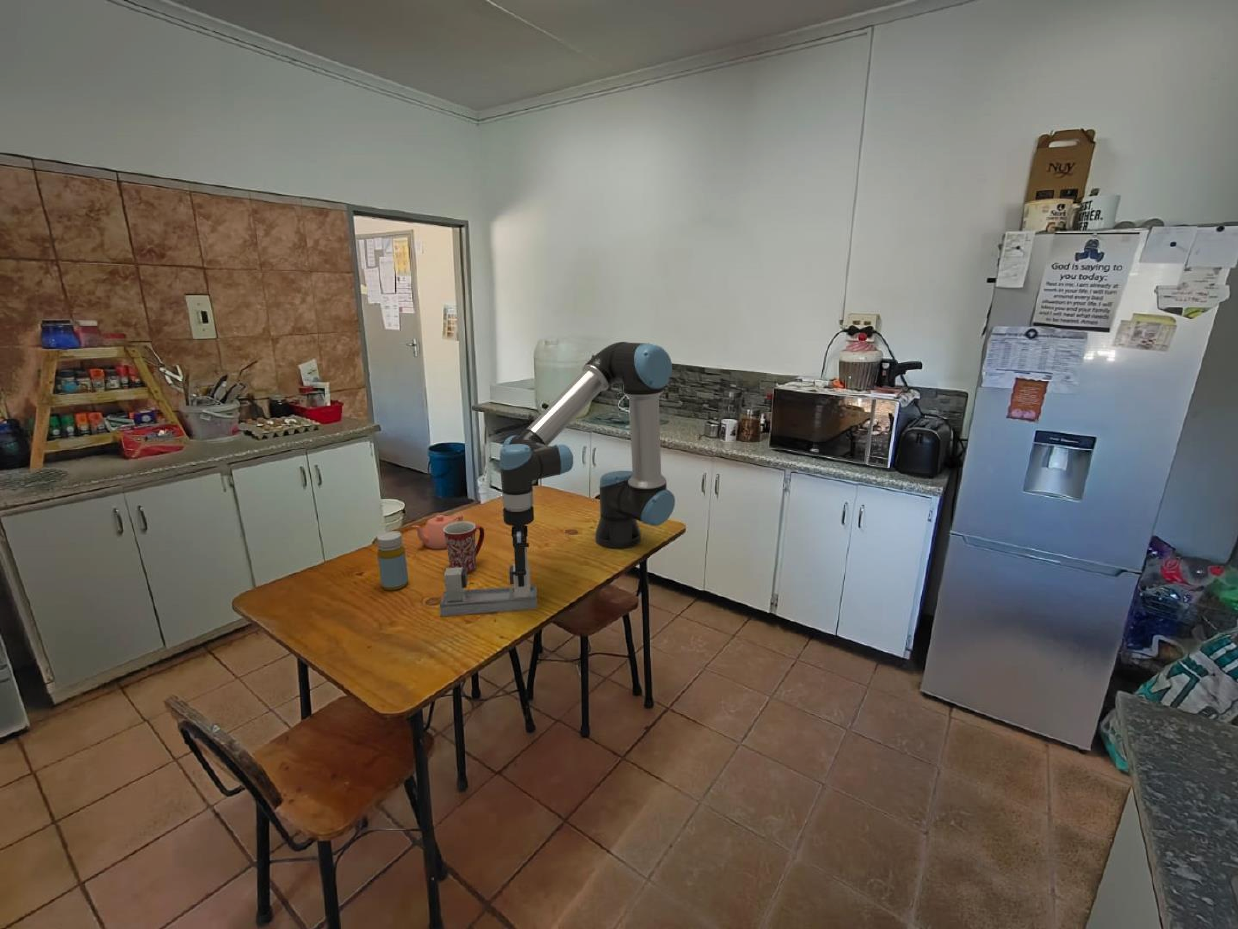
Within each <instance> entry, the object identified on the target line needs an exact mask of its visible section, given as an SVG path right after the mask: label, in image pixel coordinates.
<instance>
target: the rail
mask: <svg viewBox="0 0 1238 929" xmlns="http://www.w3.org/2000/svg"><path fill="white" fill-rule="evenodd" d="M443 575H444V576H443V577H444V579H443V580H444V587H445V591H443V595H442V596H441V599H440V604H439V612H440V617H449V616H451V617H452V616H463V615H464V616H465V615H474V614H489V613H501V612H502V613H503V612H514V611H525V610H527V611H528V610H536V609H538V591H537V584H530V590H531V597H520V598H515V593H514V586H504V587H489V588H478V589H477V588H475V589H465V588H467V586H468V582H469V581H468V574H467V569H463V567H457V568H450V567H446V569H445V572H444V574H443Z"/></svg>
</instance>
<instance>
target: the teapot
mask: <svg viewBox="0 0 1238 929" xmlns="http://www.w3.org/2000/svg"><path fill="white" fill-rule="evenodd" d="M456 520H457V522H463V520H464V515H463V514H457V515H455V516H453V517H451V516H447V515H444V514H437V515H436V516H435V517H432V518H429V519H428V520H427V522H426V523H425V526H424V528H422V527H421V526H420V525H412V526H411V527H412V528H413V529H414V528H415V529H416V531H417V536H418V539H419V540H420V542H422V543H423V544H424V545H425V546H427V548H430V549H432V550H444V549H447V545H446V540H445V534H444V531H443V529H444V527H445V526H447V525H449V524H451V523H455V522H456Z"/></svg>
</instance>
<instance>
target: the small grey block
mask: <svg viewBox="0 0 1238 929" xmlns="http://www.w3.org/2000/svg"><path fill="white" fill-rule="evenodd" d="M525 567H526V574H527V593H528V597H531V590H530V585H531V576H530V575H531V573H530V571H531V570H530V562H528V563H525ZM508 570H509V571H508V574H509V575H508V576H509V585H513V587H514V593H515V598H520V597H516V580H515V575H512V572H515V563H513V564H512V565H510V566H509V569H508Z"/></svg>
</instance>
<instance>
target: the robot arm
mask: <svg viewBox="0 0 1238 929" xmlns="http://www.w3.org/2000/svg"><path fill="white" fill-rule="evenodd" d="M672 374H673V363H672V359H671V357H670V355H669V353H668V352H667V351H666V350H665V349H664V348H663V347H662V346H660V345H657V344H652V343H646V342H644V343H643V342H627V341H619V342H615V343H612V344H610V345H608V346H606V347H605V348H603V349H602V350H600V351H599V352H598V353H596V354H595V355H594V356H592V358H590V359H589V360H588V361H587V362H586V363H585V364H584V365H582V372H581V373H580V374H579V375H578V376H577V377H576V378H575V379H574V380H573V381H572V382H571V383H570V384H569V385H568V386H567V388H565V389H564V390H563V391H562V393H561V394H559V395H558V396H557V398H555V400H553V402H552V403H550V405H548V406H547V408H545V410H543V411H542V413H540V415H539V416H538V417H537V418H536V419H535V420H534V421H532V423H531V424H530V425H529V426H528V427H527V428H526V429H524V430H523V432H522V433H521V434H519V435H511V436H509V437H508V436H507V438H506V439H505V441H504V442H503V443H502V448H500V450H499V470H500V481H501V482H500V483H501V484H500V485H501V492H502V493H501V494H500V495H499V498H500V499H502V507H503V509H502V514H503V523H504V524H506V525H508V526H511V530H510V532H511V539H512V547H513V548H514V549H513V550H514V552H513V553H514V555H513V556H514V564H515V572H512V575H515V580H516V597H528V593H527V574H526V567H525V563H529V562H528V549H527V548H530V543H529V542H527V541H528V536H529V535H528V534H529V533H528V525H529V524H531V523H533V522H534V520H535V515H534V514H535V511H534V510H535V508H534V488H533V483H534V482H533V481H538V480H542V479H546V478H551V477H554V476H561V475H563V474H565V473H568V472H570V471H571V470H572V469H573V466H574V454H573V452H572V450H571V449H570V447H569V446H568V445H567V444H554V445H550V444H551V443H552V442H554V440H555V439H556V438H557V437H558V436H559V435H560V434H561V433H562V432H563V431H564V429H566V427H568V425H570V424H571V422H572V421H573V420H574V419H575V418H576V417H578V415H579V414H580V413H581V412H582V411H583V410H585V408H586V407H587V406H588V405H589V403H591V402H592V401H593V400H594V399H595V397H597V396H598V394H600V392H604V391H607V390H608V389H609V388H610V387H611V386H613V385H614V384H615V385H616V384H617V383H622V389H623V395H625V397H627V398H628V400H629V401H628V405H629V406H628V407H629V408H628V409H629V421H630V422H629V428H630V429H629V430H630V447H631V448H630V449H631V467H632V469H631V470H632V471H631V470H615V471H610V472H607V473H603V475H601V477H600V479H599V507H600V508H599V509H600V510H599V514H600V516H599V517H600V518H599V521H598V523H597V526H596V529H595V532H594V534H595V535H594V536H595V538H594V539H595V540H594V541H595V542H596V544H598V545H599V546H601V547H604V548H608V549H615V550H616V549H617V550H618V549H620V550H621V549H623V550H624V549H628V548H633V547H635V546H637V545H638V544H639V543H641V541H642V533H641V529H640V527H639V523H638V522H641V523H642V524H643V525H649V526H653V527H657V526H660V525H663V524H664V523H665V522H667V521H668V519H670V516H671V515H672V513H673V511H674V509H675V505H676V497H675V495H674V494H673V493H672V491H671V490H668V489H667V478H666V477H665V476H664V475H663V474H662V461H661V460H662V458H661V434H660V433H661V430H660V428H661V426H660V425H661V424H660V423H661V422H660V397H661V395H662V394H663V393H664V391H665V387H666V385H667V384H668V383H669V382H670V378H671V377H672Z"/></svg>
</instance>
